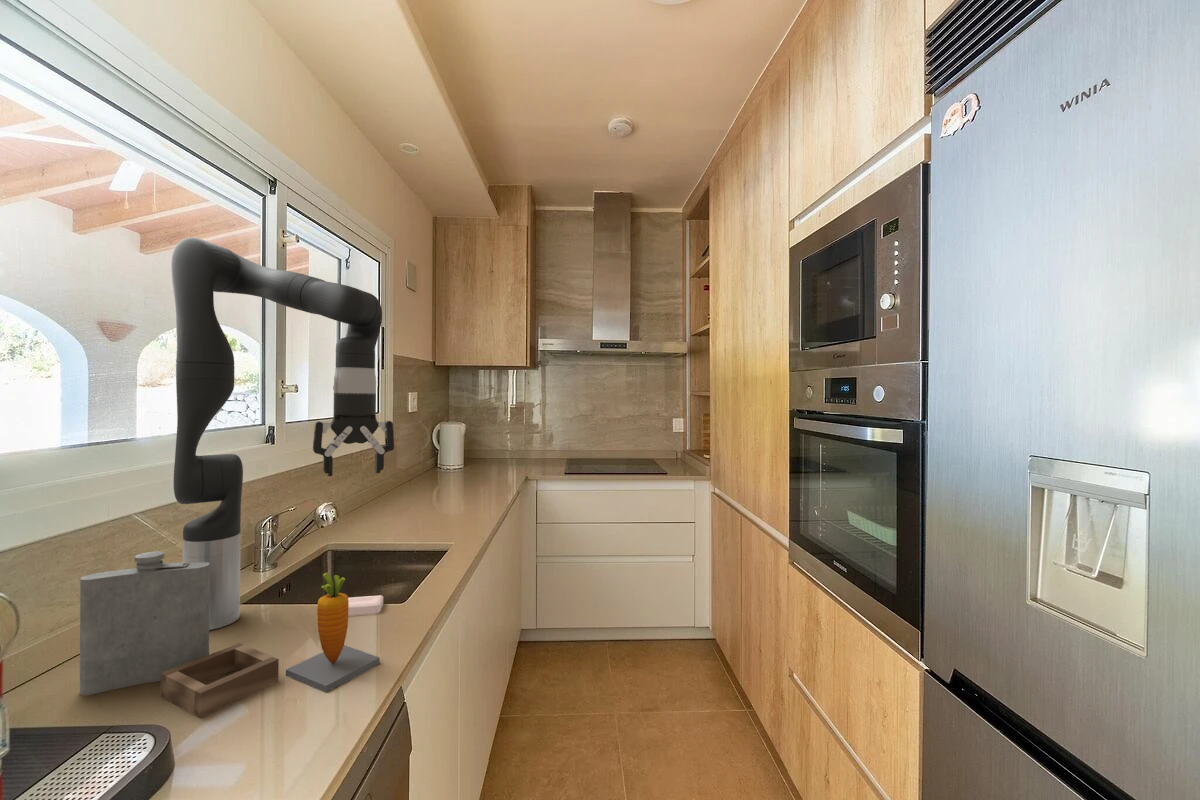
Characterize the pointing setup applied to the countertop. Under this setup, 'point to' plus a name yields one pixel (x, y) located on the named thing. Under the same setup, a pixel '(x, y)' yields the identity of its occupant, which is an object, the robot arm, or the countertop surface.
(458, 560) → the countertop surface
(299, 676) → the mat
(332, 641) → the carrot
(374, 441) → the robot arm
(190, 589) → the hip flask
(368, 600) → the soap bar
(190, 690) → the socket collar
